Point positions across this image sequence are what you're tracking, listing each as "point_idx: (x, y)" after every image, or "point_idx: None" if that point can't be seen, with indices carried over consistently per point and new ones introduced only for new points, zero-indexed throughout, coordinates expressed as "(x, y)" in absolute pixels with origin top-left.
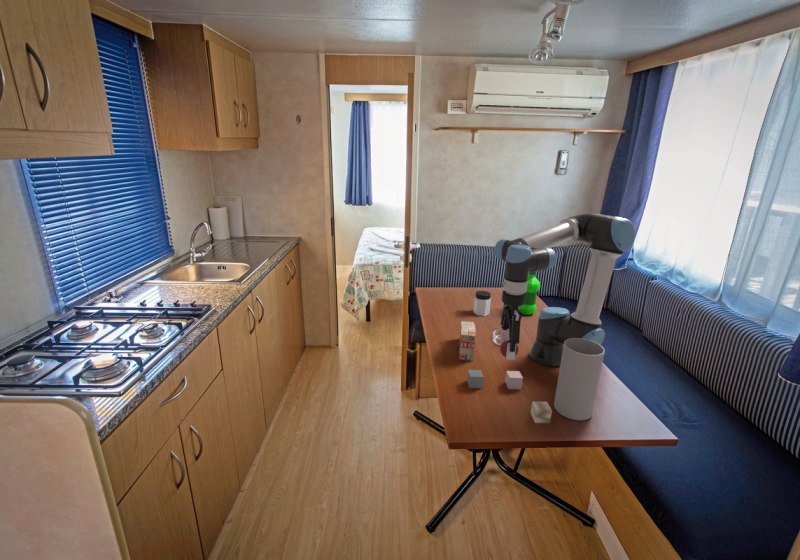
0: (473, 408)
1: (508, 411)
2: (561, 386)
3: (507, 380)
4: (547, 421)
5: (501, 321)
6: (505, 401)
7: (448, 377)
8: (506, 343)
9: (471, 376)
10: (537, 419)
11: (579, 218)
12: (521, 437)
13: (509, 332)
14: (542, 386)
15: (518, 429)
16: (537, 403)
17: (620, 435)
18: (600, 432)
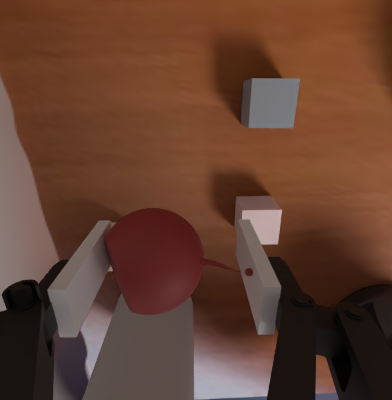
0: (135, 76)
1: (134, 173)
2: (129, 329)
3: (255, 202)
4: None
5: (360, 335)
6: (178, 176)
7: (310, 11)
8: (125, 265)
9: (252, 84)
10: None
11: None
12: (37, 179)
13: (18, 365)
14: None
15: (65, 180)
16: None
17: (90, 349)
18: (92, 324)
